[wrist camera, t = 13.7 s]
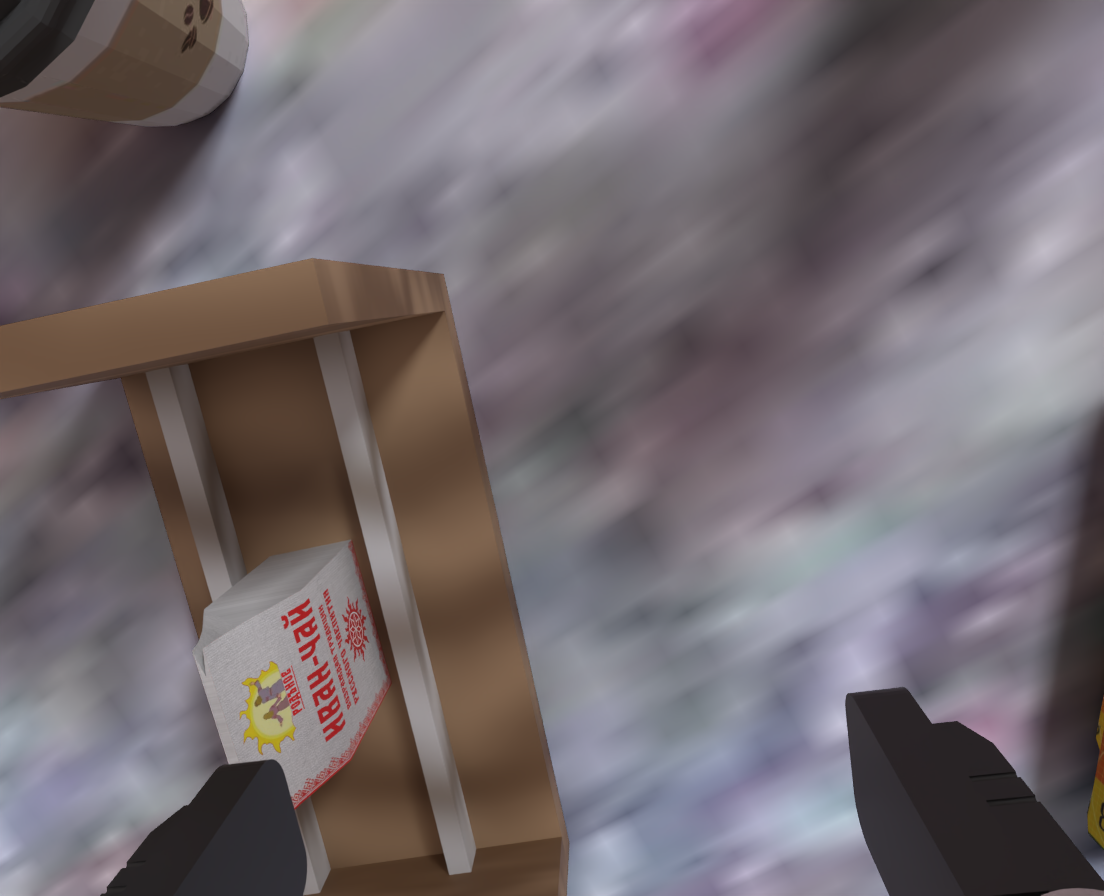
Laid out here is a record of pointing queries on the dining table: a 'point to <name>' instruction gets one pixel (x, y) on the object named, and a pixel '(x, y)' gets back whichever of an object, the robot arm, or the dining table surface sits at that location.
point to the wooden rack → (339, 515)
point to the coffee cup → (121, 58)
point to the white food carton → (294, 664)
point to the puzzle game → (1098, 790)
